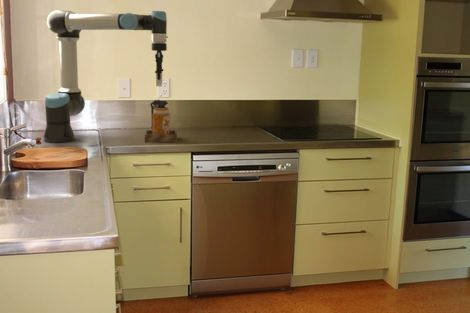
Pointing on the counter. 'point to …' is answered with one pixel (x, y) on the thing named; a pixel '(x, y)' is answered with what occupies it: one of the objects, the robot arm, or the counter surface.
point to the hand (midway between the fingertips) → (159, 85)
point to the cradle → (161, 137)
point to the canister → (160, 117)
